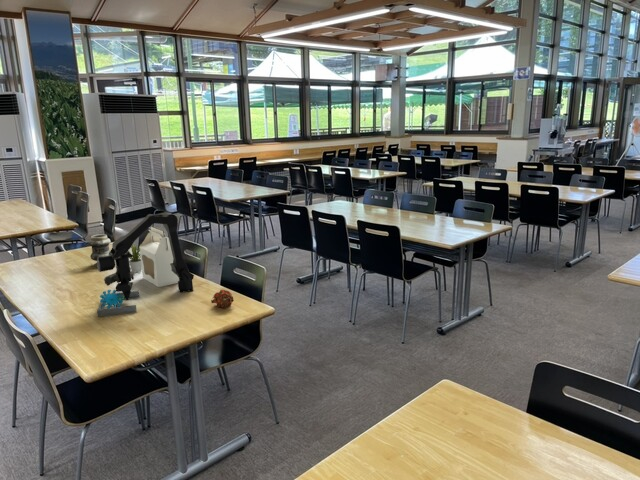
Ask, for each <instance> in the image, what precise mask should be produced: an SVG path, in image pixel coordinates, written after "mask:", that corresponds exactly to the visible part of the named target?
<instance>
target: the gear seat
mask: <svg viewBox="0 0 640 480" xmlns="http://www.w3.org/2000/svg"><path fill="white" fill-rule="evenodd" d="M118 293H119V292H116V293H114V294H118ZM106 294H107V295H108V293H106ZM120 294H121V295H120V296H118V295H117V296H118V297H121V296H122V297H123V296H124V294H123V292H122V291H120ZM102 295H103V296H104V297H105V295H104V294H102ZM134 298H140V290H131V292H130V296H129V299H134ZM101 299H103V298H101ZM124 299H125V298H124ZM124 299H123V300H124ZM103 300H104V299H103ZM125 300H126V299H125ZM103 303H106V302H100V301H99V305H98V308H97V309H96V313H97V314H96V315H97V317H98V318H101V317H109V316H116V315H125V314H133V313H137V312H138V310H137V304H133V305H132V304H131V305H127V306H126V305H124V306H120V307H117V306H116V307H114V308H113V307H110V308H107V307H106V306H103V305H102V304H103Z"/></svg>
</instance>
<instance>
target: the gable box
mask: <svg viewBox="0 0 640 480" xmlns="http://www.w3.org/2000/svg"><path fill="white" fill-rule="evenodd" d="M147 230H148V231H149V232H147V234H146V236H145V238H144V239H143V241H142V242H141V244H140V245H141V246H140V245H139V246H140V247H139V246H138V247H139V248H140V249H139V250H140V251H139V255H140V256H139V257H141V258H140V259H141V265H142V271H141V273H142V278H143V279H144V280H146V281H147V282H149V283H151V284H153V285H154V286H156V287H158V288H162V287H166V286H169V285H173V284H174V283H175V284H178V281H179V277H178V276H177V275H176V274H174V273H173V271H171V270H172V268H171V265H170V263H173V255H172V251H171V246H170V242H169V237H168V236H165V231H164V230H162V229H160V228H159V229H158V228H156V227H154V226H150V228H148V229H147Z"/></svg>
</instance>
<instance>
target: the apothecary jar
mask: <svg viewBox="0 0 640 480" xmlns="http://www.w3.org/2000/svg"><path fill="white" fill-rule="evenodd" d="M110 244H111V239H110V238H108V235H107V234H106V233H105V234H104V233H101V234H94V235H91V237H90V240H89V241H88V245H90V246H91V254H90V255H89V256H90V259H91V260H92V261H95V262H96V263H94V264H93V267H96V268H98V267H97V257H99V256H107V255H108V254H109V252H110V251H111V249H110Z"/></svg>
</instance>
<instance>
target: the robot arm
mask: <svg viewBox="0 0 640 480" xmlns="http://www.w3.org/2000/svg"><path fill="white" fill-rule="evenodd" d="M154 224H158V225H163V228H164V229H165V231H166V232H167V233H166V234H167V235H168V236H167V237H168V238H169V242H170V246H171V251H172V255H173V263H170V265H171V268H172V270H171V271H173V273H174V274H176V275H177V276H178V277H179V281H178V283H177V285H178V286H177V287H178V291H179V293H187V292H194V286H193V280H194V278H195V277H194V276H195V275H194V274H193V273H191V272H190V269H189V267H188V265H187V263H186V261H185V259H184V257H183V253H182V248H181V244H180V240H179V234H178V226H179V219H178V216H176V215H175V214H173V213H170V212H165V213H163V214H162V213H161V214H159V213H158V214H151V213H149V214H147V215H146V216H145V217H144V218H143V219H142V220H141V221H140V222H138V223H137V225H136V226H135V227H133V228H132V229H130V231H129V232H128V233H126V234H125V235H123V236H120V237H118V238H117V239H115V240H114V241H113V242H112V245H111V249H110V252H109V254H108V255H107V256H99V257H97V261H96V263H97V267H96V268H97V270H98V272H99V273H102V272H107V271H113V270H114V269H115V268H116V271H115V273H111V274H109V275H107V276H105V277H104V278H103V281H104V284H105V285H106V286H107V287H108V286H110V285H112V284H114V283H116V285H115V290H116V293H119V292H123V294H124V296H125V300H126V301H128V300H129V299H130V298H129V296H130V292H131V291H132V288H133V285H134V282H132V280H134V279H135V275H134V273H133V272H132V270H131V266H130V263H129V261H130V258H129V257H133V255H132V253H131V251H130V249H132V248H131V247H132V245H133V246H134V244H135V241H136V240H137V239H138V238H140V237H141V236H142V235H143V234H144V233H145V232H146V231H147V230H148V229H150V228H151V227H152V226H153V225H154ZM133 243H134V244H133ZM128 251H129V252H128ZM130 253H131V254H130Z"/></svg>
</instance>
